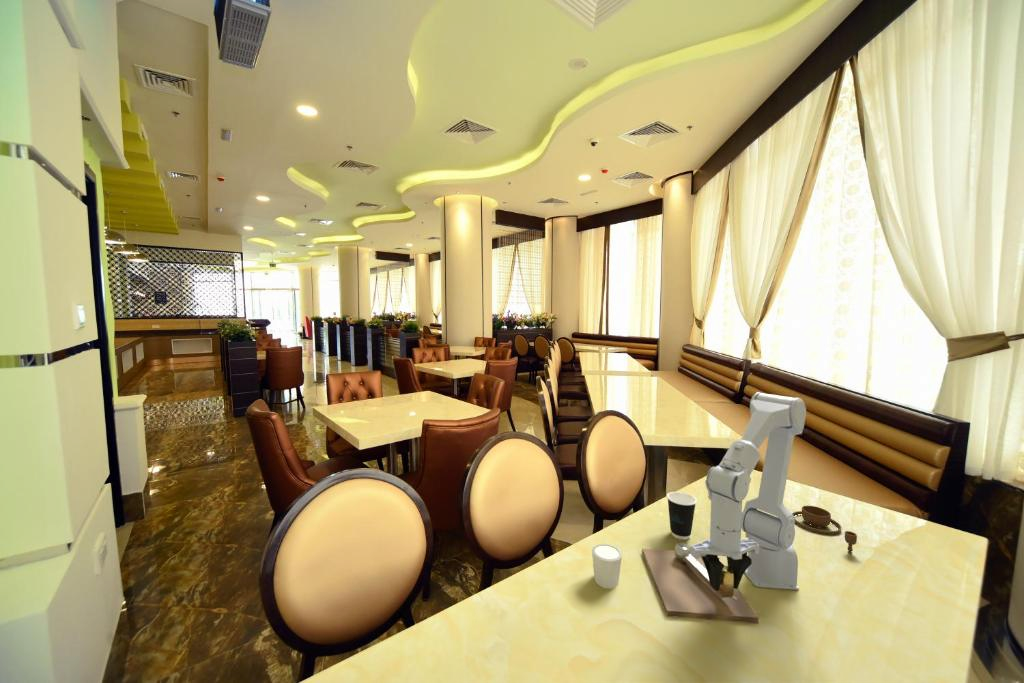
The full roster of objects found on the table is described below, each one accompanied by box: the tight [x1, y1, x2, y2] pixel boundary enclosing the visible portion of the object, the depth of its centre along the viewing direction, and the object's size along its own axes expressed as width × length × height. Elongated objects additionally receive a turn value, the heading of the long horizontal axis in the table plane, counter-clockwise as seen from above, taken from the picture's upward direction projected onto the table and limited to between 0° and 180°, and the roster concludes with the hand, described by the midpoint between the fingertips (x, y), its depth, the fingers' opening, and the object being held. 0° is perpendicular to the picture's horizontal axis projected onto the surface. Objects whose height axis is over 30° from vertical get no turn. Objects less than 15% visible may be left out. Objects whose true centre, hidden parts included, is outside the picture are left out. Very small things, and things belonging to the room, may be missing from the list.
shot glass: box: [591, 543, 623, 589], centre depth 91 cm, size 7×7×7 cm
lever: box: [674, 542, 734, 598], centre depth 89 cm, size 4×18×7 cm, turn 10°
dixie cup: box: [666, 491, 698, 541], centre depth 110 cm, size 8×8×11 cm
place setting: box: [791, 505, 858, 555], centre depth 113 cm, size 18×20×6 cm
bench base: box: [641, 548, 760, 624], centre depth 90 cm, size 18×22×1 cm
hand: (723, 586), depth 82 cm, fingers open, 4 cm apart
